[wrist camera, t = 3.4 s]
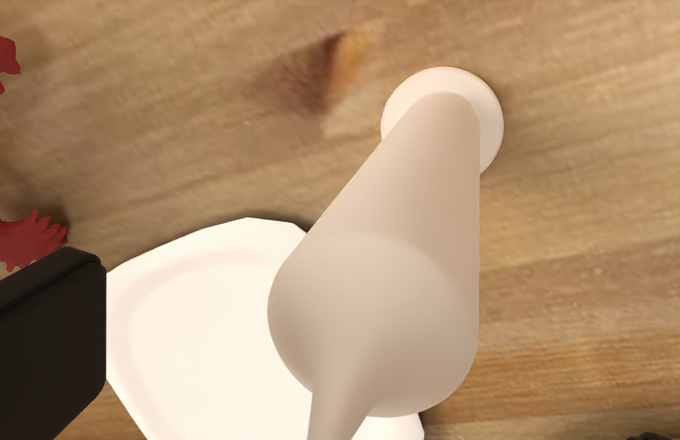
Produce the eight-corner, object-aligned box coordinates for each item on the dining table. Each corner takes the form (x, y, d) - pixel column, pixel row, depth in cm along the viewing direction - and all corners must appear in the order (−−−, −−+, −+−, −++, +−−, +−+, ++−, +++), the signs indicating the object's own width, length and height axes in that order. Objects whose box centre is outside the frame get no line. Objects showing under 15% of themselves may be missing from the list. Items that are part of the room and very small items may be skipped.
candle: (439, 39, 28) (273, 119, 6) (530, 124, 28) (713, 515, 6) (359, 131, 31) (47, 420, 9) (442, 207, 32) (348, 668, 9)
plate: (208, 506, 48) (199, 521, 47) (62, 285, 43) (46, 295, 41) (458, 467, 39) (457, 485, 37) (312, 177, 33) (304, 184, 32)
